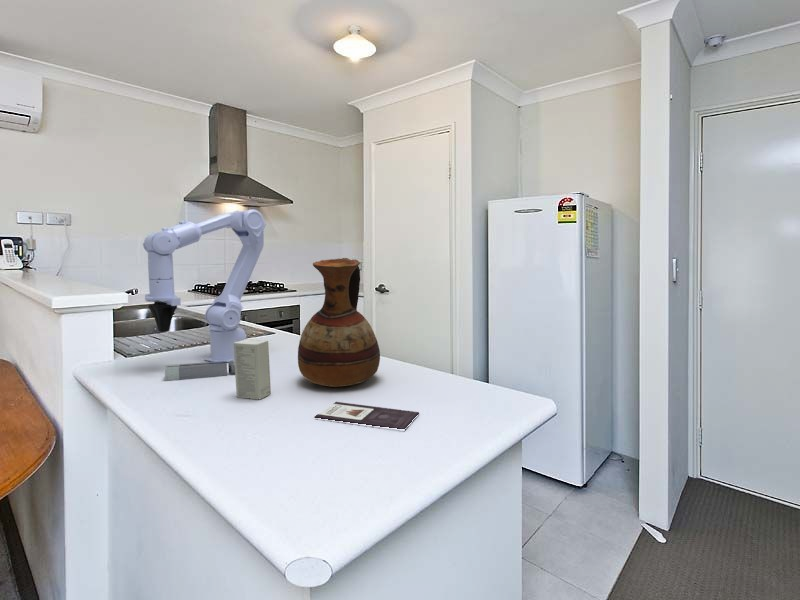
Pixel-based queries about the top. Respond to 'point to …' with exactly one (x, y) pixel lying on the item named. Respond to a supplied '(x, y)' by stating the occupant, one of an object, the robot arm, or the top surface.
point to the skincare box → (252, 368)
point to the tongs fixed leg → (230, 364)
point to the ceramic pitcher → (338, 331)
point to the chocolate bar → (368, 415)
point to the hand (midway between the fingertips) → (164, 331)
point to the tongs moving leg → (195, 371)
